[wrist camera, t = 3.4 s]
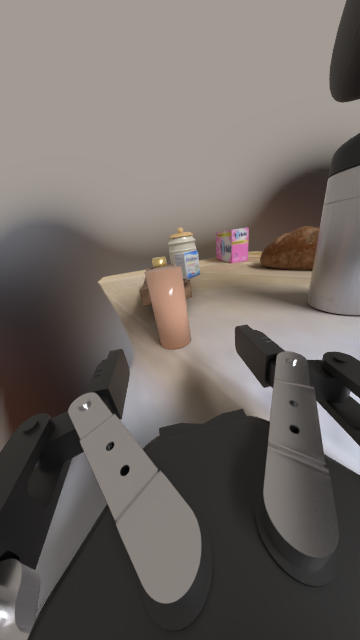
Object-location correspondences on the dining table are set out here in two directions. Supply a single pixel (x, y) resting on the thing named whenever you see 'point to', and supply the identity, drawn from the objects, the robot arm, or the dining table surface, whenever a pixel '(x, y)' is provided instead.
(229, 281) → the dining table surface
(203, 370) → the dining table surface
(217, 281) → the dining table surface
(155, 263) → the brass weight
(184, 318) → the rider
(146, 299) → the beam
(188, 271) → the medicine box
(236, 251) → the gum box
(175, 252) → the jar
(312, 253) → the bread
